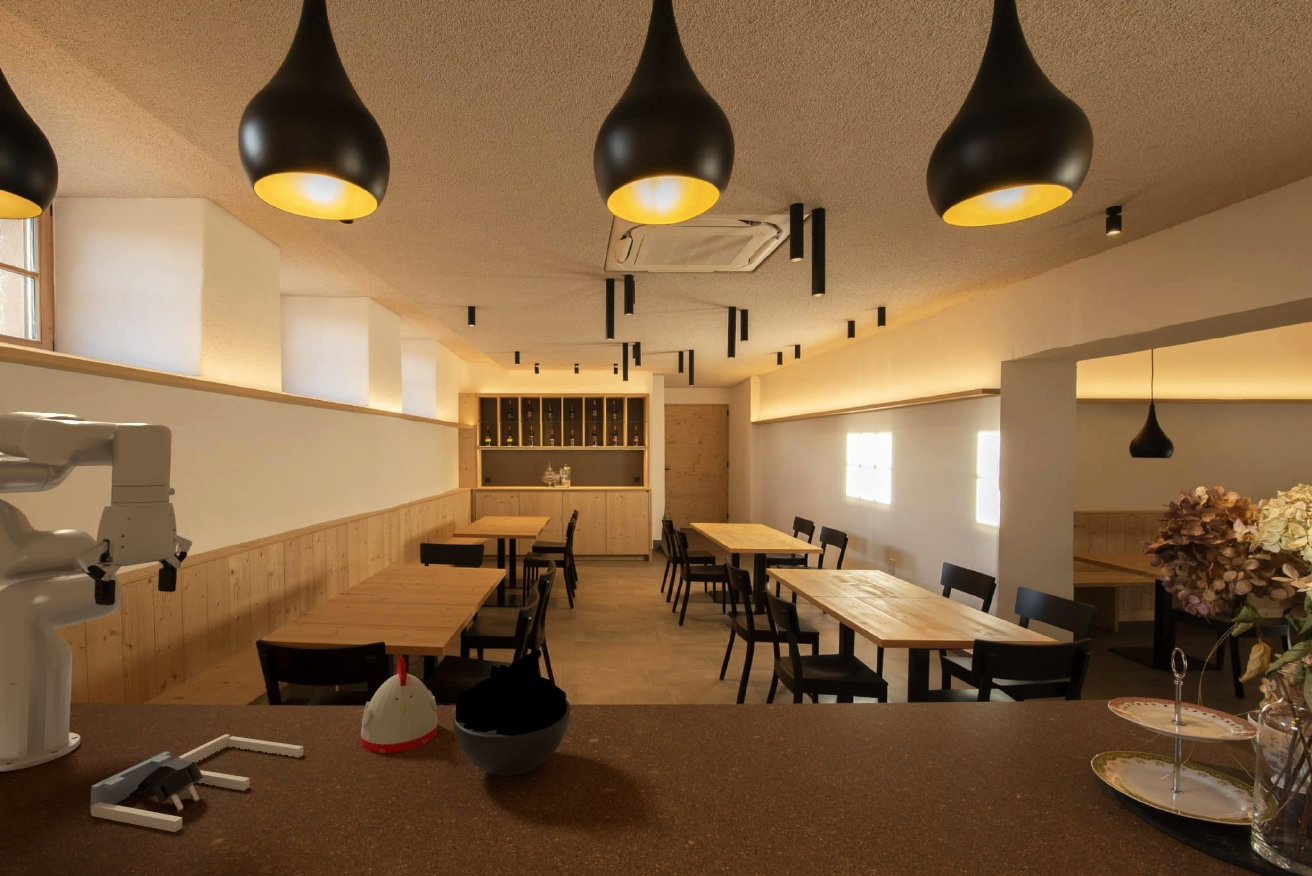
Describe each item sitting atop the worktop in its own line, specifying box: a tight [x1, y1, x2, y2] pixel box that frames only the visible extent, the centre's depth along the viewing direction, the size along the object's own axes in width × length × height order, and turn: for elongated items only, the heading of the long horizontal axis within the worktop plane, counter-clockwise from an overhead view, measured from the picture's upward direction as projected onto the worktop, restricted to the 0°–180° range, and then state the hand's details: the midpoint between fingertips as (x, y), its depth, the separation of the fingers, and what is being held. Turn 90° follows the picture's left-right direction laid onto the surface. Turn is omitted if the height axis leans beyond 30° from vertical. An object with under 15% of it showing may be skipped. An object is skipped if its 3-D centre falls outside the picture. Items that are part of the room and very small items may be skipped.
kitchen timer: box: [359, 656, 439, 754], centre depth 117 cm, size 14×14×15 cm
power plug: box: [129, 756, 203, 812], centre depth 94 cm, size 6×8×12 cm
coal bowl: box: [453, 649, 572, 777], centre depth 105 cm, size 20×20×19 cm
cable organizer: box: [89, 733, 304, 833], centre depth 99 cm, size 17×23×4 cm
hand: (137, 597), depth 100 cm, fingers open, 9 cm apart
